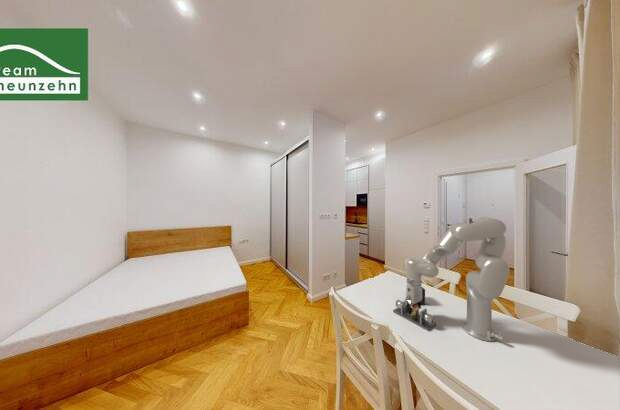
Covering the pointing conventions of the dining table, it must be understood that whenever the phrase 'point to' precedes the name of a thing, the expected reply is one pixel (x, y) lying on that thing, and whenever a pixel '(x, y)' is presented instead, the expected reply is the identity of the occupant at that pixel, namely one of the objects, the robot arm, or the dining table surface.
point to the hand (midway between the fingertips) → (413, 310)
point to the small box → (423, 297)
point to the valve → (415, 311)
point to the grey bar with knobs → (423, 320)
